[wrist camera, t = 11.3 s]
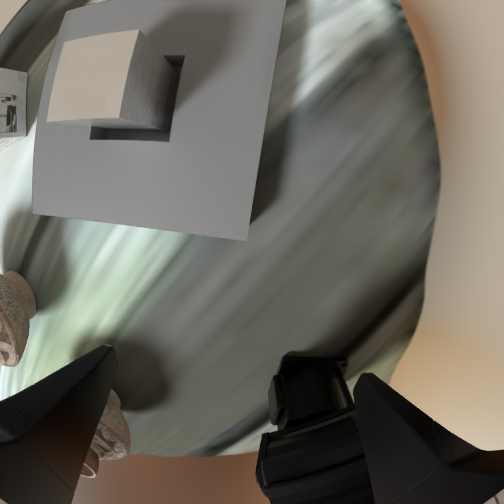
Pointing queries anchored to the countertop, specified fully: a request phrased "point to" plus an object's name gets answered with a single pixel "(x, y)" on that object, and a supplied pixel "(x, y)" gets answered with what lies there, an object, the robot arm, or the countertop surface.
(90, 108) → the beige rectangular block
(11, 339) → the pottery
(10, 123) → the light bulb box
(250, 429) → the countertop surface
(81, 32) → the square nut plate
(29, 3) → the countertop surface
